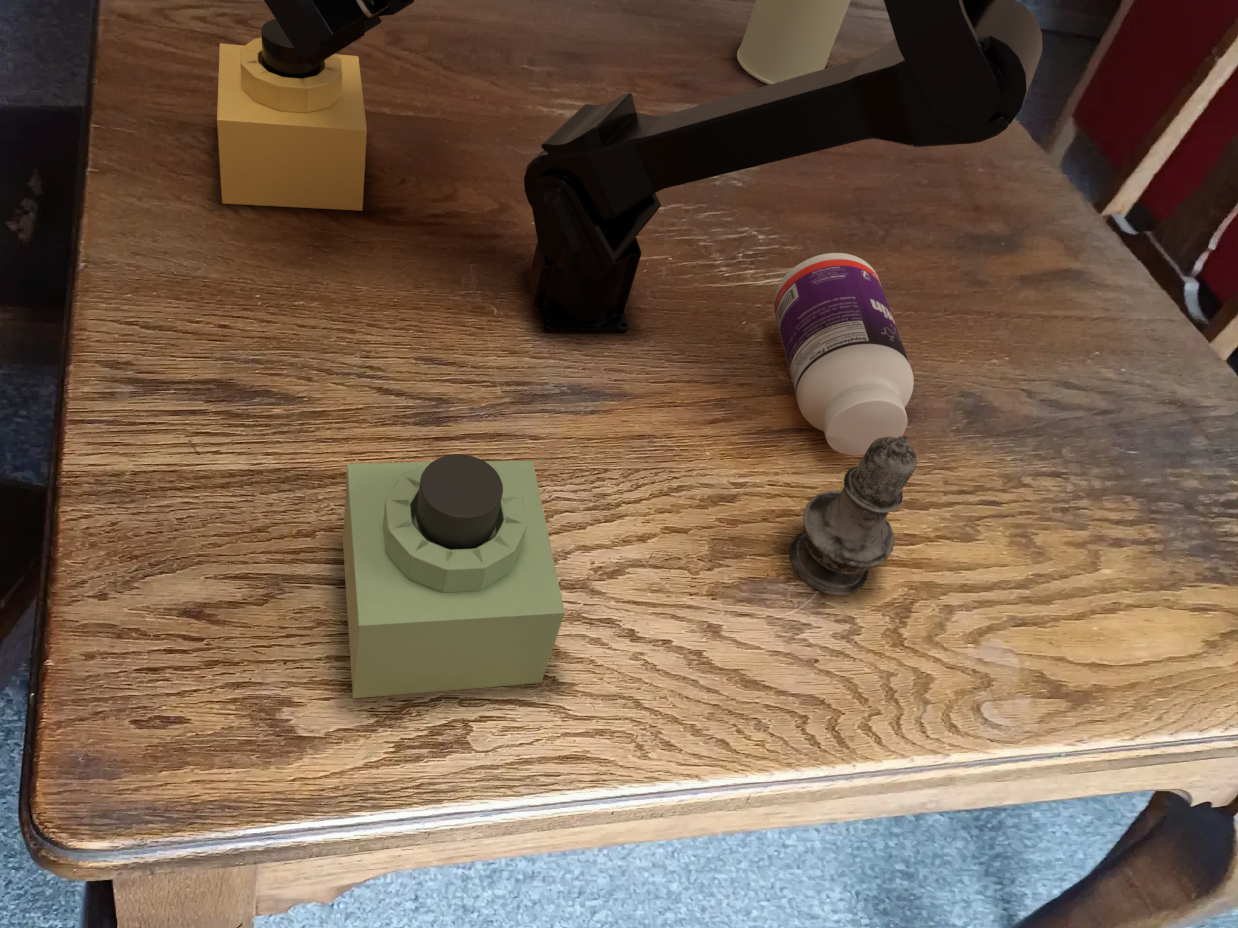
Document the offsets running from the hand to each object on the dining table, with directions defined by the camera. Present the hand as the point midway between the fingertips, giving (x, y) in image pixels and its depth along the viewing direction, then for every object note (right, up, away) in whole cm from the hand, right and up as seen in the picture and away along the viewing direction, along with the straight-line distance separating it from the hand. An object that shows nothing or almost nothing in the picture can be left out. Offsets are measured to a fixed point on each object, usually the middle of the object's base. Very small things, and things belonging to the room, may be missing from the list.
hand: (297, 16), depth 74 cm
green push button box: (+12, -39, -14) cm, 43 cm away
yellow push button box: (-3, -8, +9) cm, 13 cm away
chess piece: (+35, -37, -5) cm, 52 cm away
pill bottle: (+37, -17, +7) cm, 42 cm away
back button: (-1, -2, +3) cm, 4 cm away
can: (+39, +10, +38) cm, 55 cm away
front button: (+14, -33, -20) cm, 41 cm away
